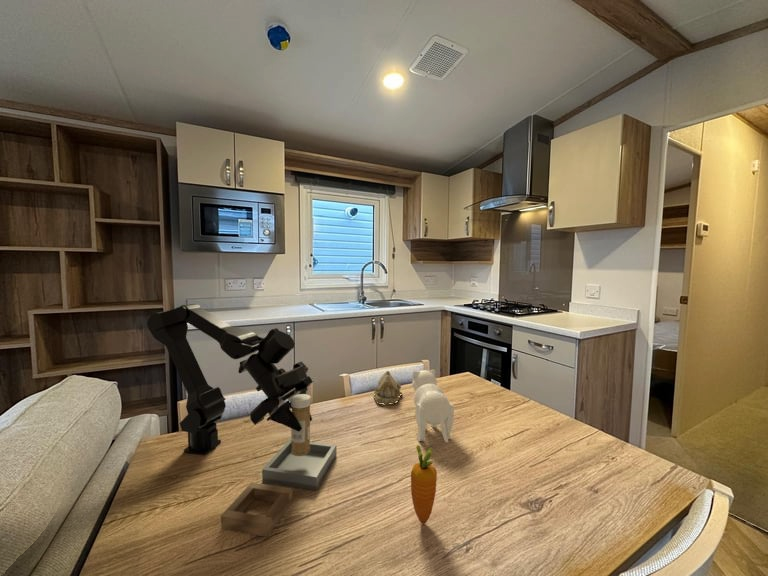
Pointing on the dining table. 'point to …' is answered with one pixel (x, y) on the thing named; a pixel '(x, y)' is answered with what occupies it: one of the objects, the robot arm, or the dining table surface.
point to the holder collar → (255, 523)
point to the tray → (300, 466)
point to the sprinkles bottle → (302, 414)
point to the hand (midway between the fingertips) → (305, 425)
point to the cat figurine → (431, 404)
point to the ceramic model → (387, 390)
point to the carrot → (423, 486)
